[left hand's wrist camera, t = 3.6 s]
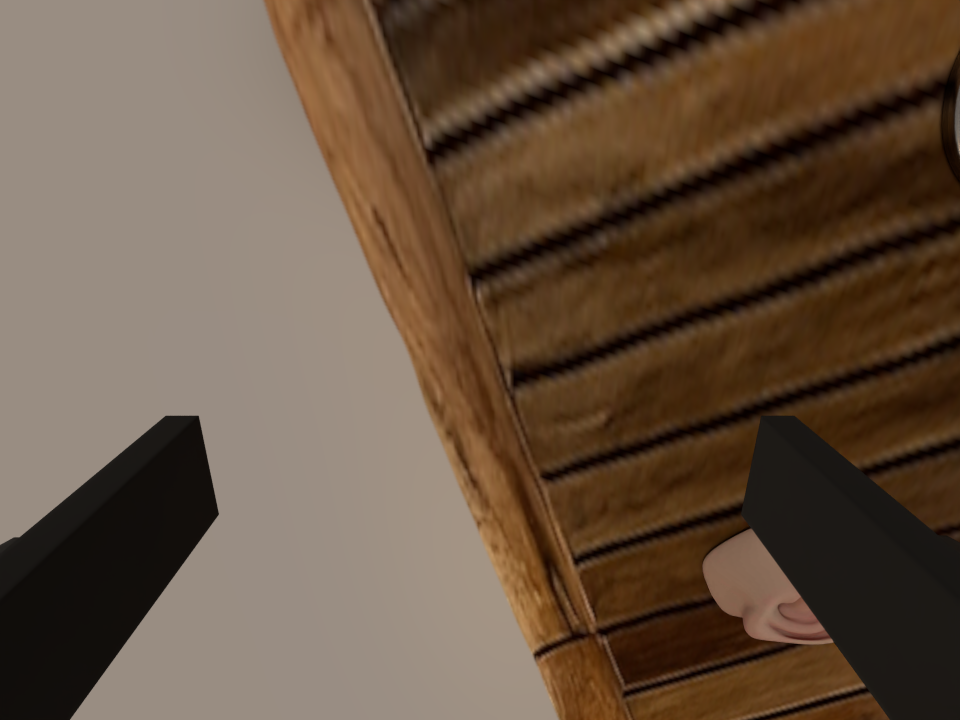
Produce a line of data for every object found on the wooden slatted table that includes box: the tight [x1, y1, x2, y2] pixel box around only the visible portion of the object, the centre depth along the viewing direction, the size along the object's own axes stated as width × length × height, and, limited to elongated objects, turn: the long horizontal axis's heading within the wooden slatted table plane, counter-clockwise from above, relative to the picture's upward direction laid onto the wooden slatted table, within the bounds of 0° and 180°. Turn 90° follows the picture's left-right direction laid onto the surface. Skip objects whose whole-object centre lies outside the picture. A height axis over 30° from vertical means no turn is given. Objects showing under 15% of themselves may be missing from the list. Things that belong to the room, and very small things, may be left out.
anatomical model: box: [703, 528, 833, 644], centre depth 45 cm, size 13×4×12 cm
